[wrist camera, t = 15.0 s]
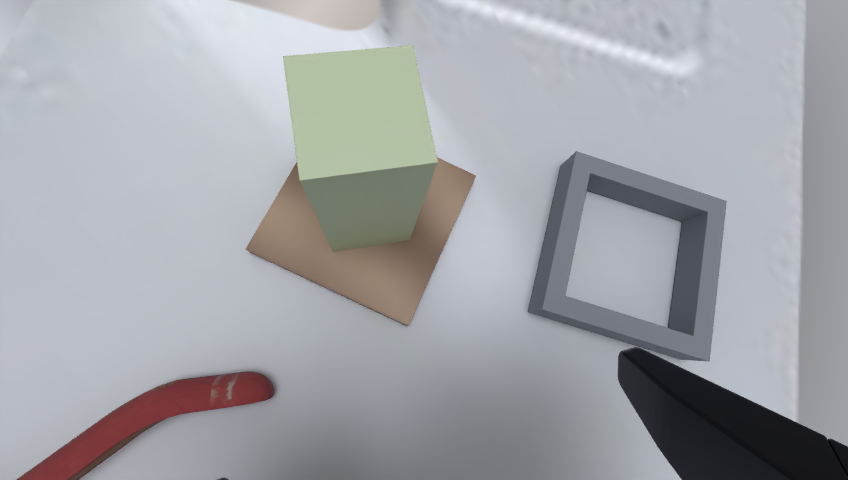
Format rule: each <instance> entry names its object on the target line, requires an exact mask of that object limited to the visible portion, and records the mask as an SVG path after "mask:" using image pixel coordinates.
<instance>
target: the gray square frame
mask: <svg viewBox="0 0 848 480" xmlns="http://www.w3.org/2000/svg"><path fill="white" fill-rule="evenodd" d="M586 191H590V192H593V193H596V194H599V195H602V196H605V197H608V198H612V199H615V200H618V201H621V202H624V203H627V204H630V205H633V206H636V207H639V208H642V209H645V210H648V211H651V212H654V213H657V214H660V215H664V216H667V217H670V218H673V219H676V220H679V221H682V228H681V236H680V243H679V251H678V258H677V266H676V273H675V280H674V288H673V295H672V303H671V310H670V318H669V325H668V328H666V327H663V326H659V325H656V324H653V323H650V322H647V321H643V320H640V319H637V318H634V317H631V316H628V315H624V314H621V313H618V312H615V311H612V310H608V309H605V308H602V307H599V306H596V305H593V304H589V303H586V302H583V301H580V300H577V299H573V298H570V297H567V296H565V295H566V290H567V285H568V280H569V275H570V270H571V265H572V260H573V255H574V250H575V245H576V240H577V235H578V230H579V225H580V220H581V215H582V210H583V205H584V200H585V196H586ZM725 211H726V201H725V200H722V199H719V198H716V197H713V196H710V195H707V194H704V193H701V192H698V191H695V190H692V189H689V188H686V187H683V186H680V185H677V184H673V183H670V182H667V181H664V180H661V179H658V178H655V177H652V176H649V175H646V174H643V173H640V172H637V171H634V170H631V169H628V168H625V167H622V166H619V165H616V164H613V163H610V162H607V161H604V160H601V159H598V158H595V157H592V156H589V155H586V154H583V153H580V152H577V151H576V152H575V153H574V154H573V155H572V156H571V157H570V158H569V159H568V160H566V161H565V162H564V163H563V164H562V165H561V166H560V171H559V175H558V180H557V184H556V189H555V193H554V198H553V202H552V207H551V211H550V216H549V220H548V225H547V229H546V234H545V238H544V243H543V247H542V252H541V256H540V260H539V265H538V269H537V274H536V278H535V283H534V287H533V292H532V296H531V301H530V305H529V310H528V312H530V313H533V314H536V315H540V316H543V317H546V318H549V319H553V320H556V321H559V322H562V323H565V324H569V325H572V326H575V327H578V328H582V329H585V330H588V331H591V332H594V333H598V334H601V335H604V336H607V337H610V338H614V339H617V340H620V341H623V342H627V343H630V344H633V345H636V346H639V347H643V348H646V349H649V350H652V351H656V352H659V353H662V354H665V355H668V356H672V357H675V358H678V359H681V360H696V361H710V352H711V343H712V333H713V324H714V314H715V305H716V296H717V286H718V277H719V267H720V258H721V248H722V239H723V230H724V220H725Z"/></svg>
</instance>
